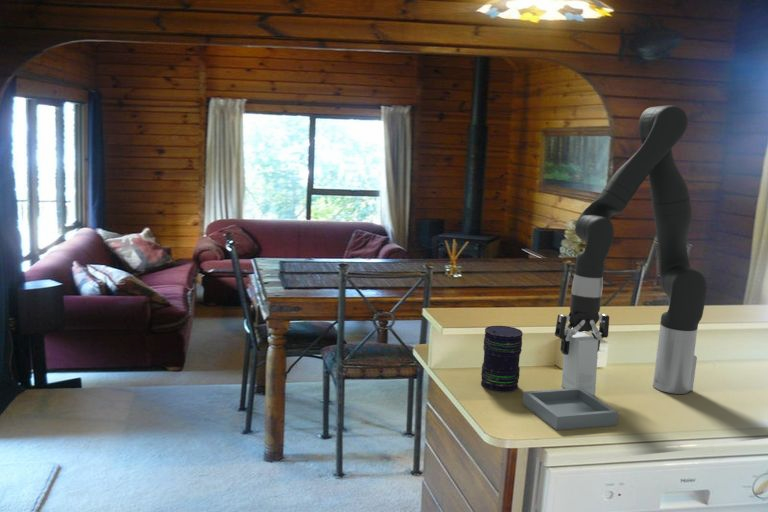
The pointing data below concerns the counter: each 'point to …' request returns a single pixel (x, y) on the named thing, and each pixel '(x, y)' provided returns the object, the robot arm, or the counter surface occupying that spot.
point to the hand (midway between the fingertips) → (579, 353)
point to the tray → (569, 408)
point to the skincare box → (581, 363)
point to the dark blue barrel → (501, 358)
